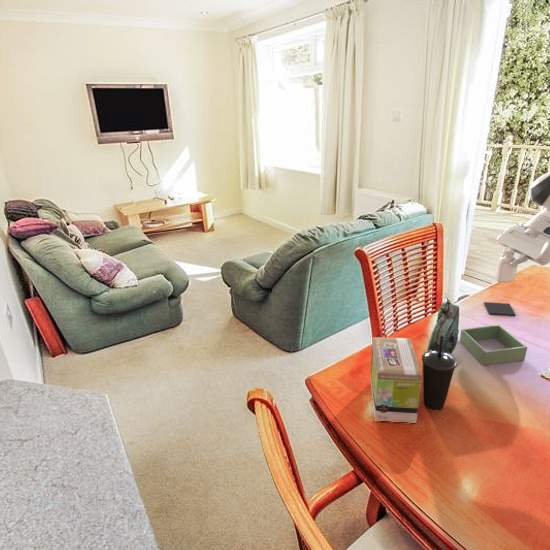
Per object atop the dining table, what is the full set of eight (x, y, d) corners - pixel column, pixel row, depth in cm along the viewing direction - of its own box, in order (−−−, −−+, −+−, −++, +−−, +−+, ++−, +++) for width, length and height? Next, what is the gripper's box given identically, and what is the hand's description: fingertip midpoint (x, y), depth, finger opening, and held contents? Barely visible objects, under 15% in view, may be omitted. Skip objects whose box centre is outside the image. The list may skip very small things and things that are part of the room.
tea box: (418, 425, 88) (423, 374, 82) (374, 422, 90) (375, 373, 84) (407, 382, 102) (411, 336, 96) (369, 380, 103) (371, 335, 97)
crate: (496, 336, 117) (499, 324, 115) (524, 360, 106) (527, 347, 104) (459, 341, 116) (461, 329, 115) (483, 365, 105) (485, 352, 103)
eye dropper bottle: (514, 284, 121) (521, 249, 116) (495, 282, 124) (501, 248, 119) (514, 278, 125) (520, 245, 120) (494, 276, 127) (500, 243, 122)
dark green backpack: (436, 346, 115) (443, 288, 107) (459, 352, 112) (468, 292, 103) (418, 384, 100) (425, 320, 92) (444, 393, 97) (453, 327, 89)
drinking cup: (443, 420, 89) (453, 350, 81) (412, 405, 94) (418, 339, 86) (454, 401, 94) (465, 334, 86) (424, 389, 99) (431, 324, 91)
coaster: (509, 304, 134) (509, 303, 134) (515, 316, 127) (515, 314, 127) (484, 303, 136) (484, 302, 136) (489, 314, 129) (489, 313, 129)
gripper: (513, 216, 127) (481, 246, 130) (561, 234, 108) (523, 269, 111) (523, 227, 129) (491, 257, 132) (572, 247, 110) (534, 280, 113)
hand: (506, 262), depth 122 cm, fingers closed on eye dropper bottle, 3 cm apart
